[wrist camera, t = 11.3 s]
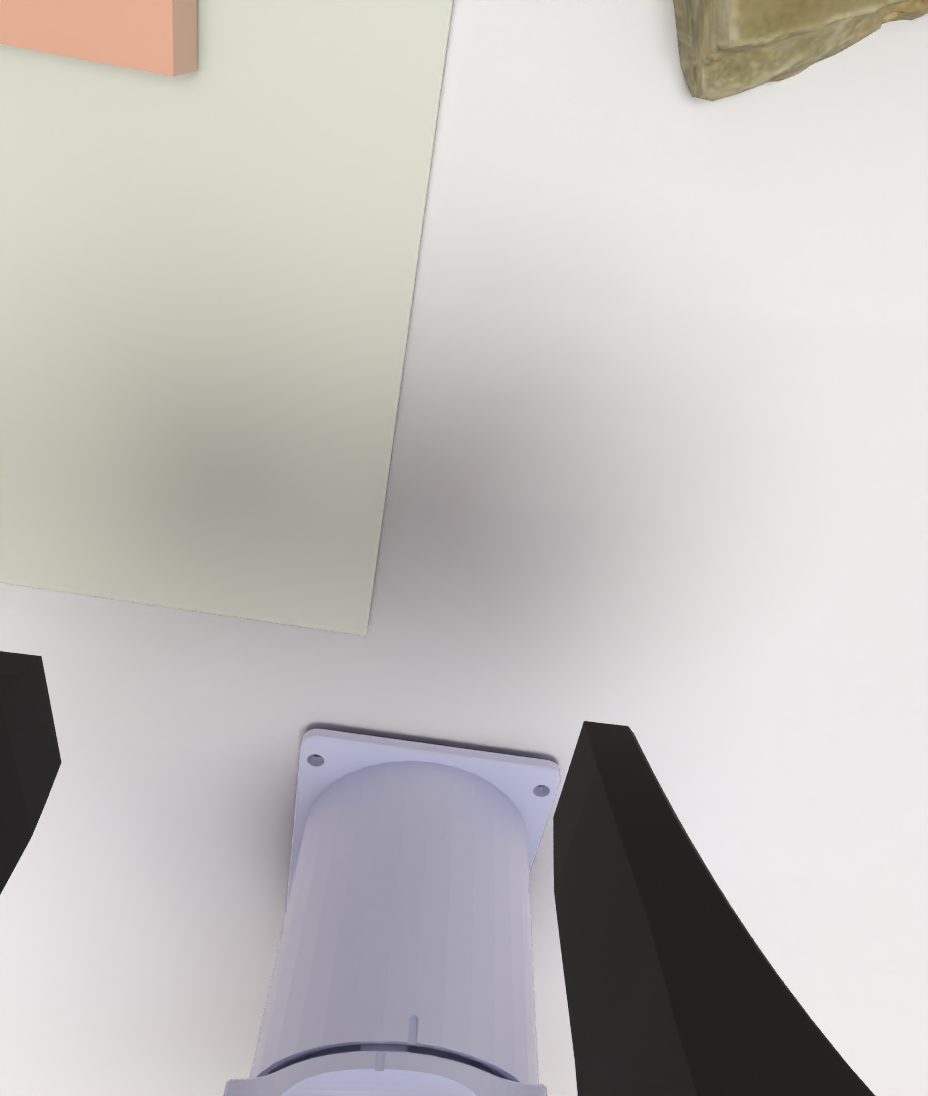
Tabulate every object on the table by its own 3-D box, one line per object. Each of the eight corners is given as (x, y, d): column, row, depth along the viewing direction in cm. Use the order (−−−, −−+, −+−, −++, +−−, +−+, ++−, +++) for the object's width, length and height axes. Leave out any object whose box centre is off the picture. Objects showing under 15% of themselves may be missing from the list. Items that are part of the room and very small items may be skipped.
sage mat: (368, 625, 24) (366, 636, 23) (-193, 542, 22) (-206, 552, 22) (535, -606, 12) (537, -629, 11) (-628, -904, 11) (-673, -941, 10)
